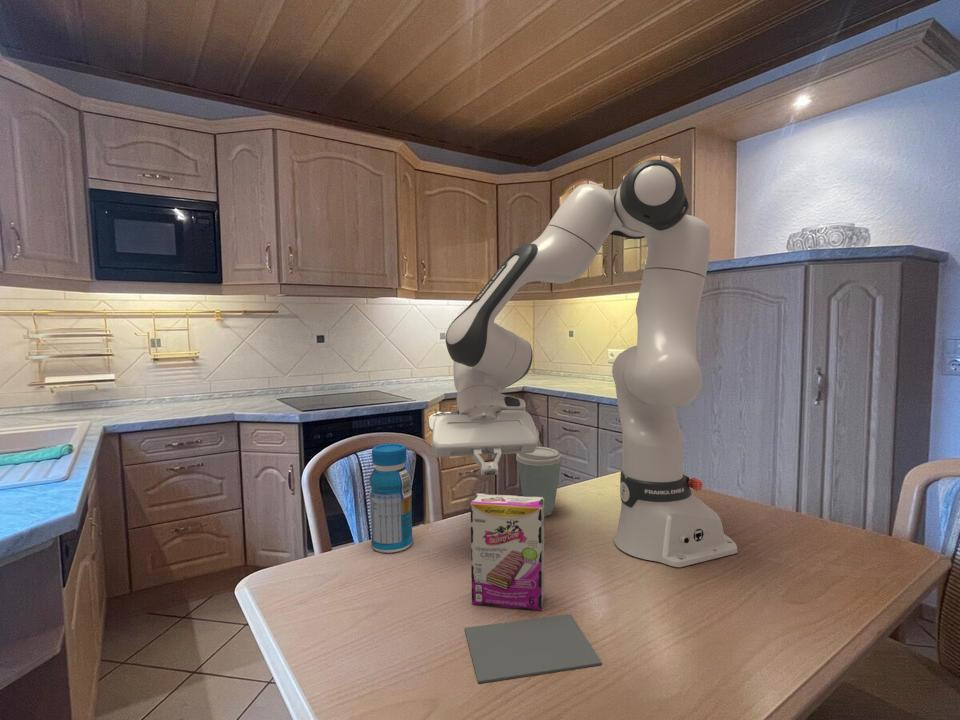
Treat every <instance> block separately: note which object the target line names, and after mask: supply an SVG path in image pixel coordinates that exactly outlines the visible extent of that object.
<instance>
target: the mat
mask: <svg viewBox="0 0 960 720" xmlns="http://www.w3.org/2000/svg"><path fill="white" fill-rule="evenodd" d="M464 633H465V636H466V641H467V645H468V649H469V652H470V657H471V661H472V665H473V669H474V673H475V676H476V680H477V684H485V683H491V682H498V681H505V680H511V679H517V678H524V677H530V676H537V675H543V674H544V675H545V674H550V673H556V672H564V671H570V670H576V669H577V670H578V669H583V668H590V667H596V666H602V665H603V662H602V660H601V659H600V656H598V653H597V652H596V651H595V649H594V648H593V646H592V645H591V643H590V642H589V640H588V638H587V636H586V635H585V634H584V632H583V630H582V629H581V628H580V626H579V624H578V623H577V622H576V619H575V618H574V617H573V615H572V614H571V613H567V614H561V615H560V614H559V615H552V616H546V617H545V616H543V617H538V618H530V619H523V620H520V619H519V620H514V621H507V622H500V623H499V622H498V623H497V622H496V623H491V624H483V625H475V626H468V627H464Z"/></svg>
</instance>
